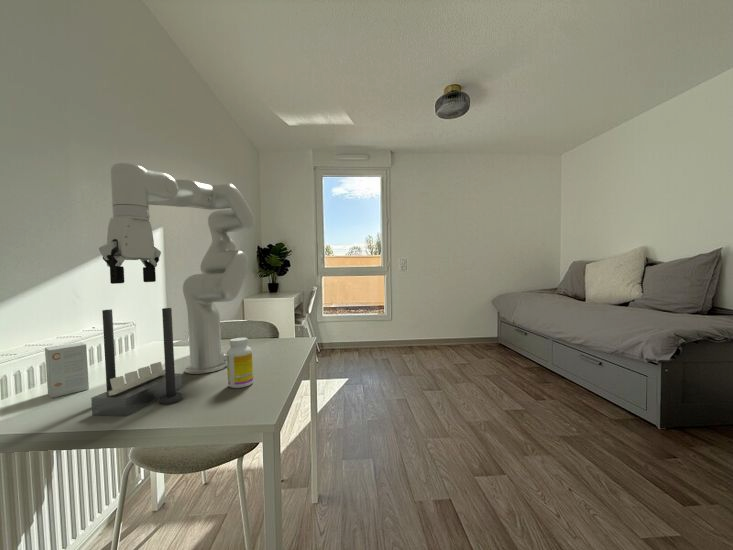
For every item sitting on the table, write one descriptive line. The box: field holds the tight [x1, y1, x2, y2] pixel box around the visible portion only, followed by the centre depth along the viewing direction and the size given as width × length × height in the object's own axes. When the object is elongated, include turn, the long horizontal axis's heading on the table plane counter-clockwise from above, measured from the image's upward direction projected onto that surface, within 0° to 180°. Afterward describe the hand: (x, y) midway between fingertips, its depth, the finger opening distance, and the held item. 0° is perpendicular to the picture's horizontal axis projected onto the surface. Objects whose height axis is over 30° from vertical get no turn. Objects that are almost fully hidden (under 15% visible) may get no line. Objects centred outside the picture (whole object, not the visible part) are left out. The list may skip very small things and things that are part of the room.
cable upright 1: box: [101, 308, 117, 392], centre depth 87 cm, size 5×5×23 cm
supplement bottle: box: [226, 337, 254, 389], centre depth 94 cm, size 7×7×13 cm
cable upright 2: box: [159, 307, 184, 406], centre depth 84 cm, size 5×5×23 cm
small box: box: [44, 341, 90, 399], centre depth 94 cm, size 8×6×13 cm
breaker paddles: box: [109, 361, 165, 396], centre depth 85 cm, size 16×2×4 cm, turn 171°
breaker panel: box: [90, 373, 183, 417], centre depth 85 cm, size 18×9×4 cm, turn 171°
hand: (134, 282), depth 85 cm, fingers open, 9 cm apart
